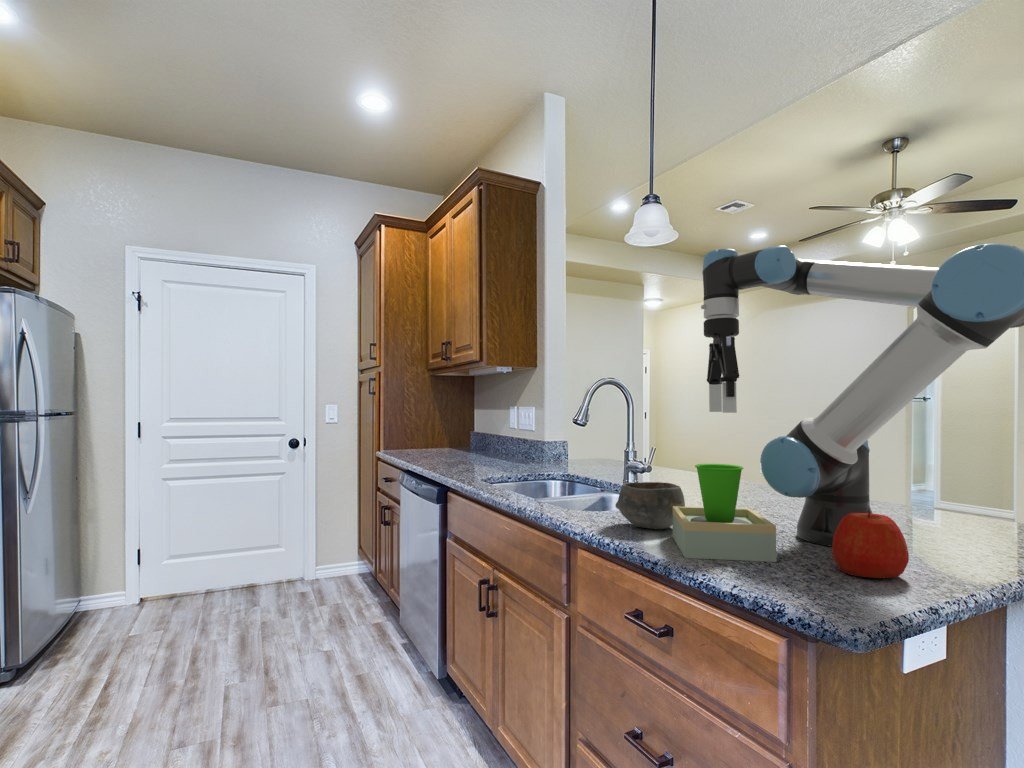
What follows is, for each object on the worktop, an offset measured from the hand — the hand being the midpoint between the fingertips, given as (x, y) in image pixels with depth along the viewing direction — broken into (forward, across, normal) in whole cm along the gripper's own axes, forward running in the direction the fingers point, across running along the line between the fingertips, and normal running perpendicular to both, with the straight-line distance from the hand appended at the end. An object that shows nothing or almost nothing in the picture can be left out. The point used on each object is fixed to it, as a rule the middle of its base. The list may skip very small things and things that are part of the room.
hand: (722, 412), depth 121 cm
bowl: (+27, -1, -16) cm, 31 cm away
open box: (+27, +15, -4) cm, 31 cm away
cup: (+22, +15, -4) cm, 27 cm away
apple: (+27, +28, +17) cm, 42 cm away
